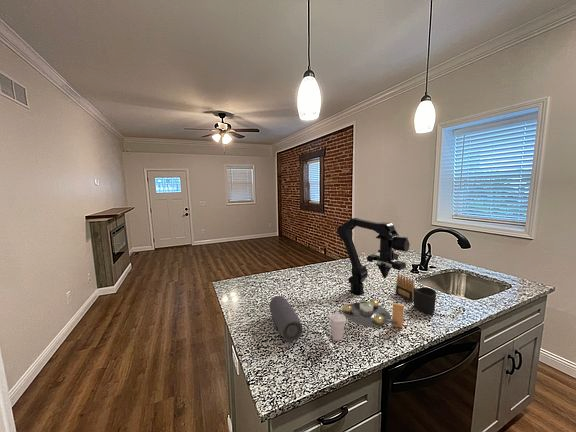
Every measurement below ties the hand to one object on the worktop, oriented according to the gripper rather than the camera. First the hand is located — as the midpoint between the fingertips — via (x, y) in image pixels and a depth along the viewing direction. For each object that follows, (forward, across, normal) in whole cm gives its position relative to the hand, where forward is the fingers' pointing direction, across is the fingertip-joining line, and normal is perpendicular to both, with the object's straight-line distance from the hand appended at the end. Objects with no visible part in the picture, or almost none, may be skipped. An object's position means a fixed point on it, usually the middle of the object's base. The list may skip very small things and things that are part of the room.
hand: (384, 278), depth 125 cm
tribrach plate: (+13, -3, +18) cm, 22 cm away
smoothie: (+13, -8, +42) cm, 45 cm away
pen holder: (+13, -16, -8) cm, 22 cm away
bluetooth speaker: (+13, +11, +54) cm, 57 cm away
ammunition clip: (+13, -3, -14) cm, 19 cm away
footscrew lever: (+12, -14, +19) cm, 26 cm away
